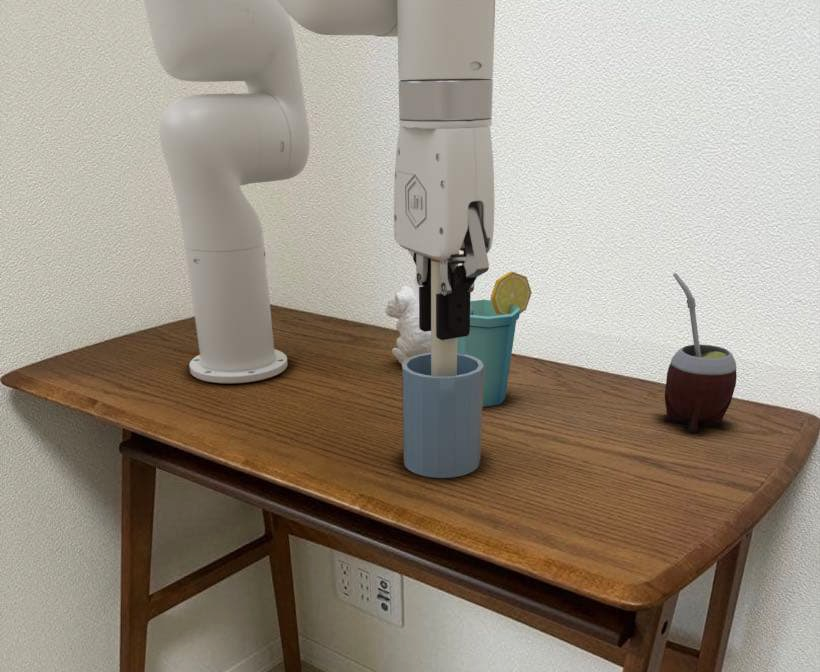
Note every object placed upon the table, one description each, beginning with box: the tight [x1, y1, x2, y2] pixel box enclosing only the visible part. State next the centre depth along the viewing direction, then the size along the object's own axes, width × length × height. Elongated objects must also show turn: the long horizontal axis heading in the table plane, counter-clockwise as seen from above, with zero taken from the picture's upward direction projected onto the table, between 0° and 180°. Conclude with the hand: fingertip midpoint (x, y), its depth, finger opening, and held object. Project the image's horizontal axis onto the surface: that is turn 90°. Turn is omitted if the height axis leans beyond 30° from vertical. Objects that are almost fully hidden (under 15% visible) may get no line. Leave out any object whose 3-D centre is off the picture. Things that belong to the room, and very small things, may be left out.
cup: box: [457, 270, 533, 408], centre depth 93 cm, size 14×8×15 cm, turn 134°
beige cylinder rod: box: [430, 252, 460, 376], centre depth 74 cm, size 2×2×14 cm
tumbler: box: [401, 353, 484, 479], centre depth 79 cm, size 8×8×10 cm
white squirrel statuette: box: [384, 271, 431, 365], centre depth 105 cm, size 8×7×12 cm
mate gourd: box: [663, 272, 737, 435], centre depth 86 cm, size 8×8×15 cm
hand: (444, 331), depth 75 cm, fingers closed on beige cylinder rod, 2 cm apart
